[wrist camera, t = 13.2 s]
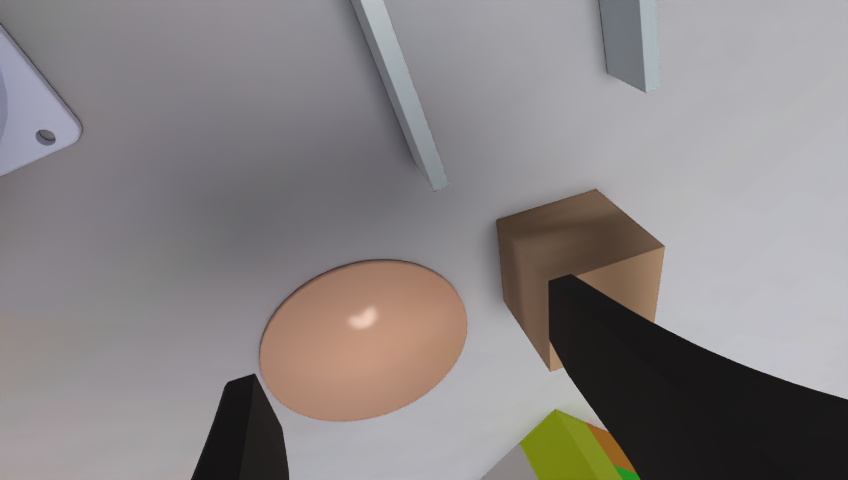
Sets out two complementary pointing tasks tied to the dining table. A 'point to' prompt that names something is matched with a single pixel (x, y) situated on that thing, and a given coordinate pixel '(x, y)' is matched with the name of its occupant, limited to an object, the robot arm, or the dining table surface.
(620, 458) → the puzzle toy
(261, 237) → the dining table surface
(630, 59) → the grey parallel rails
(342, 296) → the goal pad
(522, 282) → the walnut block
